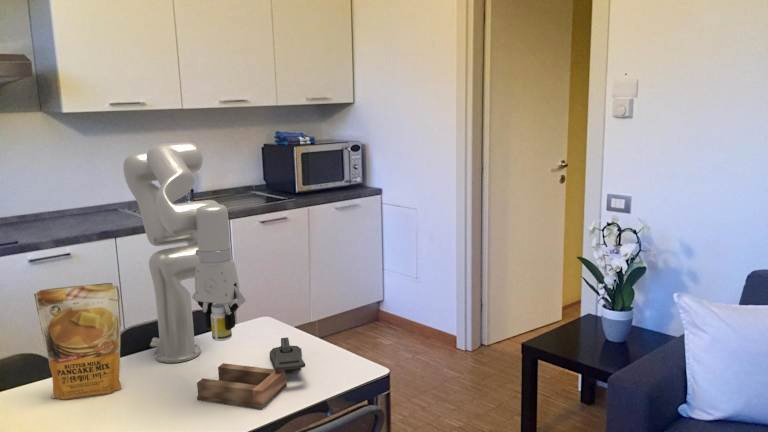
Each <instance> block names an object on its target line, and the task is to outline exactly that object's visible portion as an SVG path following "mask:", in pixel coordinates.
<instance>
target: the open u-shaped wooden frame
mask: <svg viewBox="0 0 768 432" xmlns="http://www.w3.org/2000/svg"><path fill="white" fill-rule="evenodd" d="M217 371H218V379H212V378H201V379H200V380H198V381H197V382H196V388H197V389H196V390H197V396H196V401H198V402H204V403H205V402H206V403H212V404H213V403H215V404H219V405H220V404H221V405H226V406H233V407H240V408H249V409H255V410H260V411H261V410H264V408H266V407H267V406H268V405H269V404H270V403H271V402H272V401H273V400H274V399H275V398H276V397H277V396H278V395H279V394H280V393H281V392H283V391H284V389H285V388H286V387H287V384H288V383H287V382H286V374H285V371H284V370H275V369H274V368H266V367H258V366H257V367H256V366H250V365H249V366H248V365H243V364H234V363H233V364H232V363H224V362H223V363H221V364H220V365H219V366H217Z"/></svg>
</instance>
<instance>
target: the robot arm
mask: <svg viewBox="0 0 768 432" xmlns="http://www.w3.org/2000/svg"><path fill="white" fill-rule="evenodd" d="M203 160H204V159H203V153H202V151H201V149H200V148H199V146H198V145H197V144H195V143H194V142H190V141H182V142H166V143H158V144H155V145H153V146H151V147H150V149H148V151H139V152H135V153H131V154H130V155H128V156H127V157H125V159H124V161H123V175H124V179H125V182H126V184H127V187H128V189H129V191H130V192H131V194H132V195H133V197H134V199H135V201H136V202H137V205H138V208H139V213H140V215H141V216H140V217H141V219H142V220H141V221H142V223H143V227H144V232H145V234H146V237H147V240H148V242H149V244H150V245H152V246H154V247H165V246H171V245H178V244H183V243H186V244H187V245H181V246H175V247H169V248H163V249H161V250H157V251H156V252H154V253H153V254H152V255H151V256H150V257H149V259H148V268H149V273H150V275H151V279H152V284H153V289H154V294H155V295H154V297H155V304H156V314H157V315H156V316H157V317H156V318H157V325H158V326H157V327H158V336H159V337H153V338H152V339H151V342H150V344H149V346H150V347H151V348H157V349H156V350H157V351H156V352H155V353H154V355H155V359H156V360H157V361H158V362H160V363H167V364H176V363H183V362H187V361H190V360H192V359H195V358H196V357H198V356H199V355H200V354H201V352H202V349H201V348H202V347H201V346H200V345H198V344H196V342H195V331H194V321H193V320H194V319H193V318H194V317H193V309H192V300H194V301H195V302H196V303H197V305H198V306H199V307H200V308H201V309H202V312H203V313H204V318H205V324H206V325H205V327H206V328H207V329H211V314H212V309H211V306H212V305H214V304H224V306H225V310H226V313H227V314H226V315H225V326H226V330H230V329H231V330H232V329H233V328H235V327H236V312H237V310H238V309H239V307H241V305H243V304H244V303H246V301H247V300H246V297H244V295H243V294H242V292H241V291H240V284H239V283H240V282H239V277H238V271H237V268H236V265H235V262H234V259H232V251H231V249H232V248H231V237H230V236H231V235H230V225H229V224H230V223H229V222H230V221H229V212H228V208H227V207H226V206H225V205H224V204H219V202H217V201H216V200H213V199H205V200H197V201H188V202H180V203H174V202H176V201H177V200H180V199H181V198H182V197H184V196H186V195H188V194H189V193H190V192H191V190H192V189H193V188H194V186H195V181H196V180H195V176H194V174H195V173H197V172H199V171H200V170H201V168H202V166H203ZM154 181H157V182H158V184H159V185H160V187H159V186H158V185H156V184H155V183H153V182H154ZM193 278H194V293H193V294H192V297H191V293H190V292H189V290H188V288H186V287H185V286H184V285H183V284H182V283H181V282H182V281H185V280H189V279H193ZM235 300H236V301H235Z"/></svg>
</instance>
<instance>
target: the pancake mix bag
mask: <svg viewBox="0 0 768 432" xmlns="http://www.w3.org/2000/svg"><path fill="white" fill-rule="evenodd" d="M113 284H114V283H113V282H104V283H96V284H95V283H93V284H89V285H88V284H87V285H72V286H63V287H62V286H60V287H53V288H47V289H41V290H39V291H37V292H35V293H33V296H34V300H35V305H36V310H37V315H38V318H39V322H40V323H39V324H40V330H41V334H42V338H43V342H44V348H45V350H46V354H47V359H48V365H49V369H50V373H51V377H52V378H51V379H52V396H51V398H52V399H60V400H67V401H68V400H73V399H84V398H89V397H90V398H91V397H98V396H107V395H111V394H114V393H115V392H116V391H118V390H122V389H123V387H122V384H121V380H120V373H121V372H120V369H121V337H122V336H121V335H122V334H121V326H122V320H121V307H120V306H121V305H120V298H121V297H120V290H119V287H118V285H113Z"/></svg>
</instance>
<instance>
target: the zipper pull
mask: <svg viewBox="0 0 768 432" xmlns="http://www.w3.org/2000/svg"><path fill="white" fill-rule="evenodd" d="M302 353H303V352H302V347H299V346H298V345H290V341H289V337H281V338H280V346H276V347H273V348H272V349H271V350H270V351H269V359H270V363H271V364H272V367H273V369H275V370H284V371H285V375H288V374H289V375H290V374H295V373H297V372H300V371H301V369H302V368H303V369H304V368H305V367H306V363H305V360H303V358H302V356H303V355H302Z"/></svg>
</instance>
